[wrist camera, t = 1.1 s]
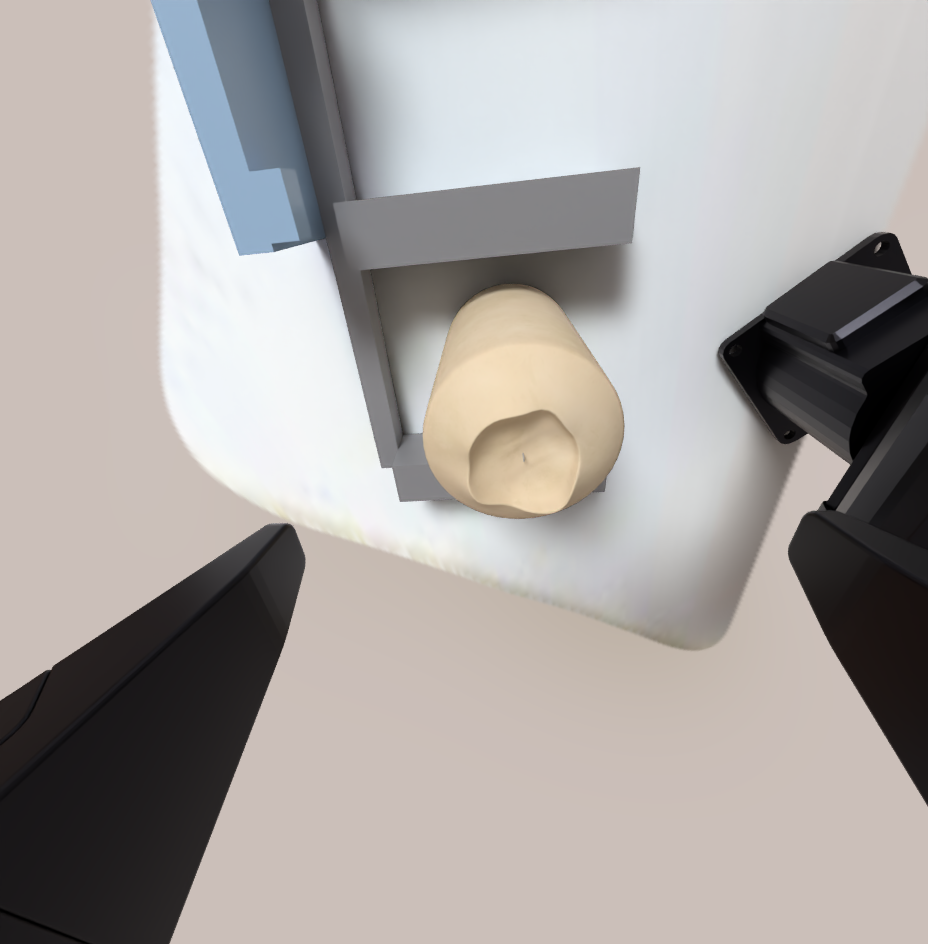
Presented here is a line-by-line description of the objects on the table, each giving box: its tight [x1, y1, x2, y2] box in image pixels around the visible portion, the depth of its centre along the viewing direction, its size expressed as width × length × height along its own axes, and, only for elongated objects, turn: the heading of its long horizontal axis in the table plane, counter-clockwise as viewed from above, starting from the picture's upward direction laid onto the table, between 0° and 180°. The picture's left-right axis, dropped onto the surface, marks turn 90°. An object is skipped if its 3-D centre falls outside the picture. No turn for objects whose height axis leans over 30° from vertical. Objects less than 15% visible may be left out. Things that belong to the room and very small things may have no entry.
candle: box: [423, 284, 624, 519], centre depth 15 cm, size 6×6×10 cm
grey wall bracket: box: [151, 0, 640, 502], centre depth 14 cm, size 22×12×6 cm, turn 5°
